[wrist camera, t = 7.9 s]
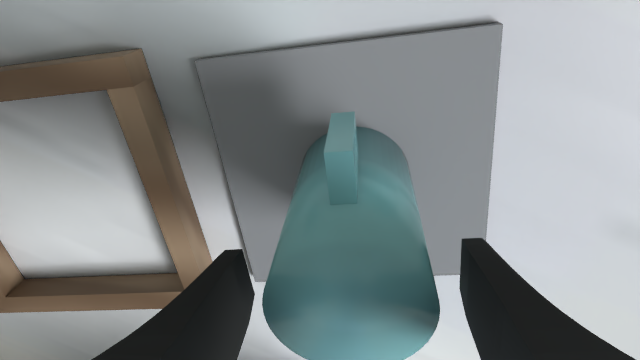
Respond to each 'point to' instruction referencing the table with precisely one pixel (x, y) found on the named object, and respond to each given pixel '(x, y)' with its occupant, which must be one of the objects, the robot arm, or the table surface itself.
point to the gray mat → (370, 112)
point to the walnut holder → (156, 174)
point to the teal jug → (352, 253)
